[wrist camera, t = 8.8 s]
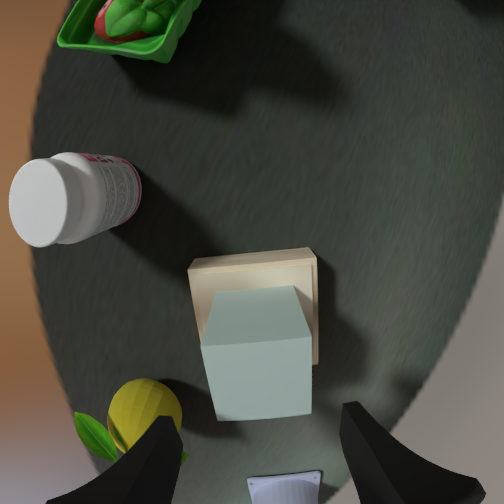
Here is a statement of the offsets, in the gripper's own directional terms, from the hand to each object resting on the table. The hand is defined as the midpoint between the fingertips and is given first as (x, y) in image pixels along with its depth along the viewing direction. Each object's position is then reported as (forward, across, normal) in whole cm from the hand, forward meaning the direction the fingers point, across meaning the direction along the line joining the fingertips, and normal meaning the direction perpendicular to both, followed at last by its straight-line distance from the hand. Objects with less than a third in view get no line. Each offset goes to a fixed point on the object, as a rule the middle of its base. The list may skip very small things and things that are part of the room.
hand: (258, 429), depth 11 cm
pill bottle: (+10, +9, -10) cm, 17 cm away
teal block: (+8, 0, -1) cm, 8 cm away
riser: (+10, 0, -1) cm, 10 cm away
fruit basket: (+10, +4, -23) cm, 26 cm away
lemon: (+10, +9, +6) cm, 15 cm away
